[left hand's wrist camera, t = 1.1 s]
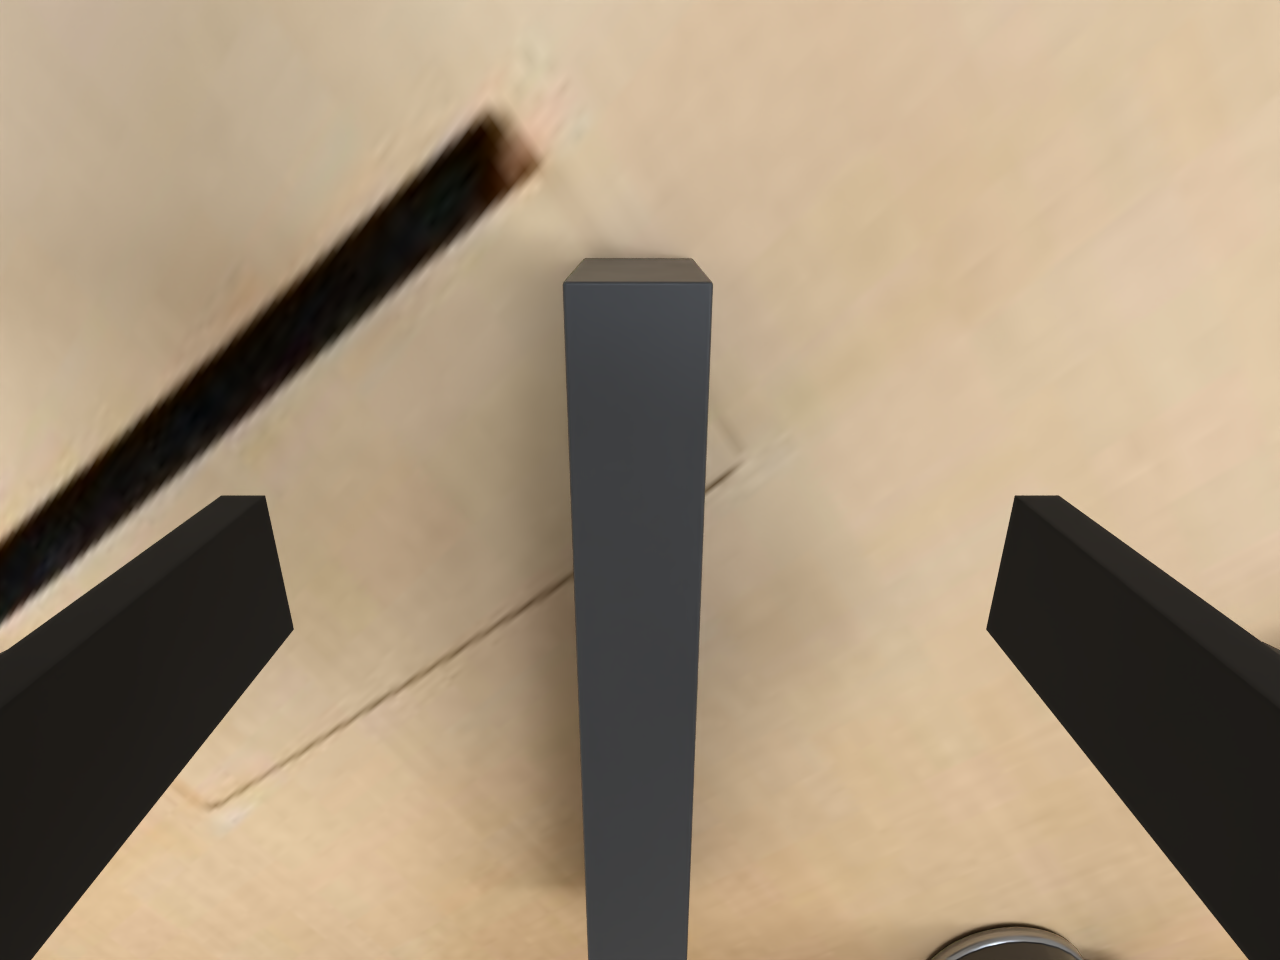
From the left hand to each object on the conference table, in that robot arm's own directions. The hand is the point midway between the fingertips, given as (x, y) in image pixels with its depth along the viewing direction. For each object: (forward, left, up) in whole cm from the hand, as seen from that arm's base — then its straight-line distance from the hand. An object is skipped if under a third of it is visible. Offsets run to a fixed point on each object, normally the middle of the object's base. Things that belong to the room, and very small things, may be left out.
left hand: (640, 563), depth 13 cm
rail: (+12, 0, -16) cm, 20 cm away
